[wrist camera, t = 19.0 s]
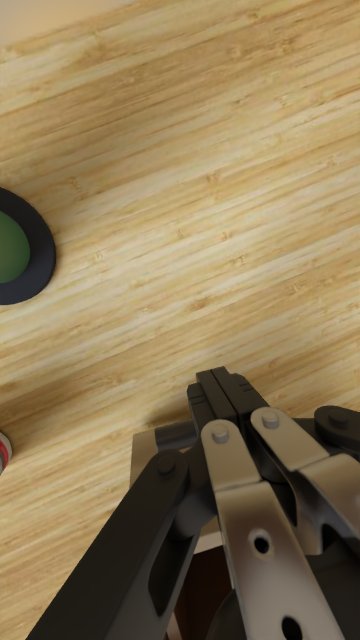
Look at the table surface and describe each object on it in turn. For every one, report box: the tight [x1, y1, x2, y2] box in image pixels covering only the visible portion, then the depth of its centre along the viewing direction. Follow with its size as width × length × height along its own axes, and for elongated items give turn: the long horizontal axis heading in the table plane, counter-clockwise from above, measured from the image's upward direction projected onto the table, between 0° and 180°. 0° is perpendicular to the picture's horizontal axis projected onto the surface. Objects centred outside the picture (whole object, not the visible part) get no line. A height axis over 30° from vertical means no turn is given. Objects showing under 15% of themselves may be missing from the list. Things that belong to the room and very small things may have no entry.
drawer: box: [129, 418, 232, 640], centre depth 18 cm, size 20×12×9 cm, turn 10°
